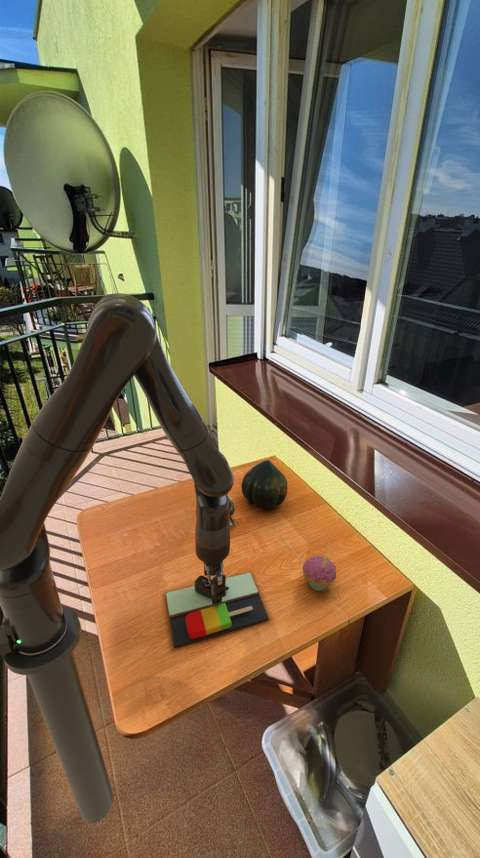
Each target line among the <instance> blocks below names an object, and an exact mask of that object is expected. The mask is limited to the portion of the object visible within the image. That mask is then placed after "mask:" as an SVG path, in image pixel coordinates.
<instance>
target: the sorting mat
mask: <svg viewBox="0 0 480 858" xmlns="http://www.w3.org/2000/svg"><path fill="white" fill-rule="evenodd" d="M227 586H228V587H229V589H228V590H226V596H225V597H222V602H221V603H218V604H212V599H210V598H207V597H205V596H203V595H201V594H199V593H197V592H195V585H193V586H188V587H183V588H181V589H176V590H173V591H169V592H165V597H166V603H167V609H168V615H169V616H168V617H169V622H170V628H171V635H172V643H173V648H174V649H176V648H179V647H183V646H185V645H189V644H193V643H196V642H199V641H203V640H207V639H210V638H213V637H216V636H220V635H222V634H226V633H229V632H232V631H236V630H239V629H242V628H246V627H250V626H252V625H257V624H259V623H262V622H266V621H269V620H270V618H269V615H268V613H267V610H266V608H265V605H264V603H263V601H262V597H261V596H260V591H258V588H257V586H256V583H255V581H254V578H253V575H252V573H251V572H246V573H242V574H237V575H234V576H230V577H229V576H228V577H226V587H227ZM224 603H225V604H226V607H227V610H228V613H229V612H232V611H235V610H239V609H242V608H246V607H249V606H252V607H253V610H251V611H248V612H244V613H241V614H238V615H234V616H231V617H230V619H231V623H232V625H231V627H230V628H227V629H224V630H221V631H218V632H214V633H211V634H208V635H205V636H202V637H198V638H195V639H192V638H190V637H189V635H188V631H187V626H186V616H187V615H188V614H189V613H192V612H196V611H199V610H203V609H206V608H210V607H213V606H217V605H220V604H224Z"/></svg>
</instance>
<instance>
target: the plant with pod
mask: <svg viewBox="0 0 480 858" xmlns="http://www.w3.org/2000/svg"><path fill="white" fill-rule="evenodd" d="M227 496H228V499H229V504H230V519H229V521H230V528H231V527H232V526H234V527H237V524H236V523H235V520H236V519H235V518H234V517H232V516H233V515H234V514H235V512H236V508H235V506H236V505H235V503H234V500H233V499H232V497H231V496H230V495H228V494H227Z"/></svg>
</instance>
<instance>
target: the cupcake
mask: <svg viewBox="0 0 480 858" xmlns="http://www.w3.org/2000/svg"><path fill="white" fill-rule="evenodd" d="M329 557H330V556H329V553H327V554H326V555H325V556H323V555H313V556H309V558H307V559H306V560H305V561H304V563H303V565H302V573H303V577H304V579H305V580H306V581H308V585H309V587H310V588H311V589H313V590H314V591H323V590H326V588H327V587H328V586H329V585H331V584H333V583H334V581H335V580H336V579H337V567H336V565H335V563H334V562H332V560H330V559H329Z"/></svg>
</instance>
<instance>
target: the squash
mask: <svg viewBox="0 0 480 858" xmlns="http://www.w3.org/2000/svg"><path fill="white" fill-rule="evenodd" d="M240 485H241V493H242V495H243V497H244V498H245V499H246V500H247V502H248V504H249V505H252V506H254V505H255V506H256V507H263V509H264V510H266V511H272V510H273V509H274V508H275V507H278V506H281V505H282V504H283V502H284V501H285V499H286V497H287V494H288V480H287V477H286V476H285V475H284V474H283V473H282V471H281V470H280V469H279V468H278V467H277V466H276V465H275V464H274V463H273V461H271V460H270V459H266V460H263V461H261V462H259V463H257V464H256V465H253V466H252V467H251V468H249V469H248V471H247V472H245V474H244V476H243V478H242V481H241V484H240Z"/></svg>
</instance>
